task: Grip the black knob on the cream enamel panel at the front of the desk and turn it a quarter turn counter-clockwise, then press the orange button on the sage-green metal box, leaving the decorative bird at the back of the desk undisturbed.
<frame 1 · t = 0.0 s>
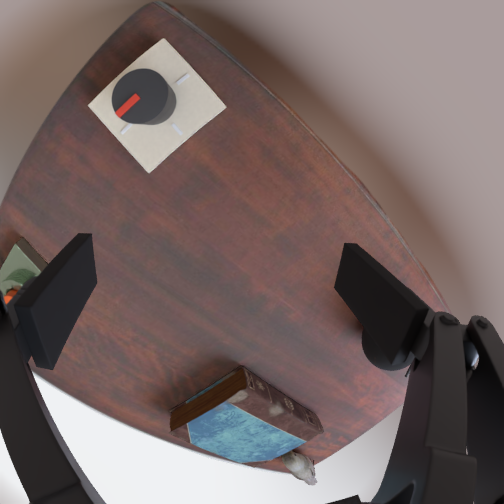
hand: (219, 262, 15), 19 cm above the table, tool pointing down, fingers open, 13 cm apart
knob: (147, 99, 21), point 7 cm above the table, hinge at 0.0°
speaker: (378, 318, 44), on the table
decorative bird: (295, 454, 59), on the table
button: (15, 305, 29), point 4 cm above the table, slide at 0.1 cm
knob panel: (158, 105, 28), on the table
book: (246, 415, 49), on the table
button box: (29, 288, 33), on the table
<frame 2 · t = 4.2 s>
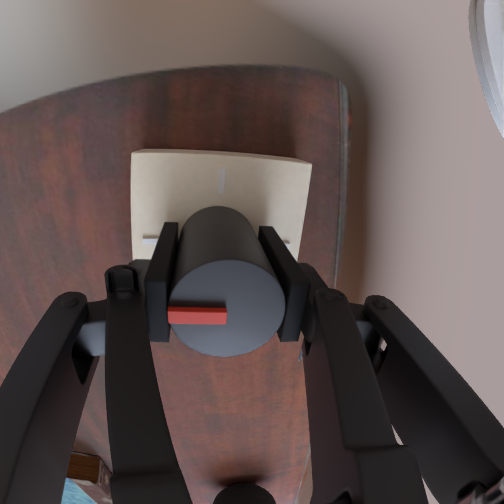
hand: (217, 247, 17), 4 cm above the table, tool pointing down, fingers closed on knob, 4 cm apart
knob: (221, 272, 14), point 7 cm above the table, hinge at 0.0°, touching gripper
speaker: (239, 484, 37), on the table
knob panel: (214, 226, 20), on the table
book: (76, 475, 33), on the table
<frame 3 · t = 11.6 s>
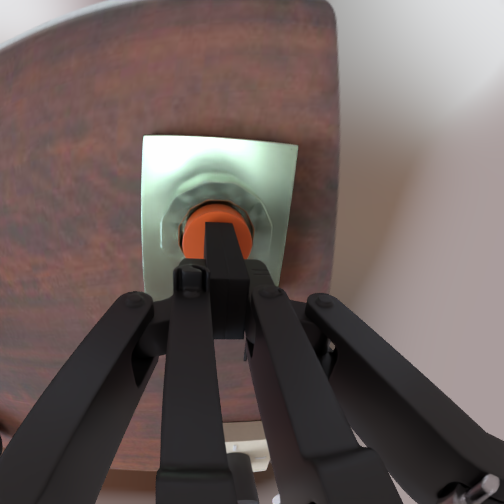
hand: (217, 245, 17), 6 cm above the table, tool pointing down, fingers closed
knob: (236, 482, 28), point 7 cm above the table, hinge at 90.2°
button: (216, 239, 18), point 4 cm above the table, slide at 0.1 cm, touching gripper
knob panel: (230, 441, 34), on the table
button box: (213, 218, 22), on the table
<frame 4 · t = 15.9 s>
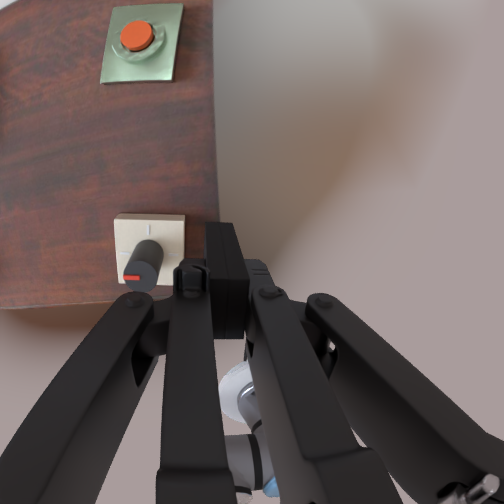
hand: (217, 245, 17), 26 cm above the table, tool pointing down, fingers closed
knob: (144, 265, 37), point 7 cm above the table, hinge at 90.2°
button: (137, 35, 27), point 4 cm above the table, slide at 0.1 cm
knob panel: (151, 245, 43), on the table
button box: (143, 44, 31), on the table
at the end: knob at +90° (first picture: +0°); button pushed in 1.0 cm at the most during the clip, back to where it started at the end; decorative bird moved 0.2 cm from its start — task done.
